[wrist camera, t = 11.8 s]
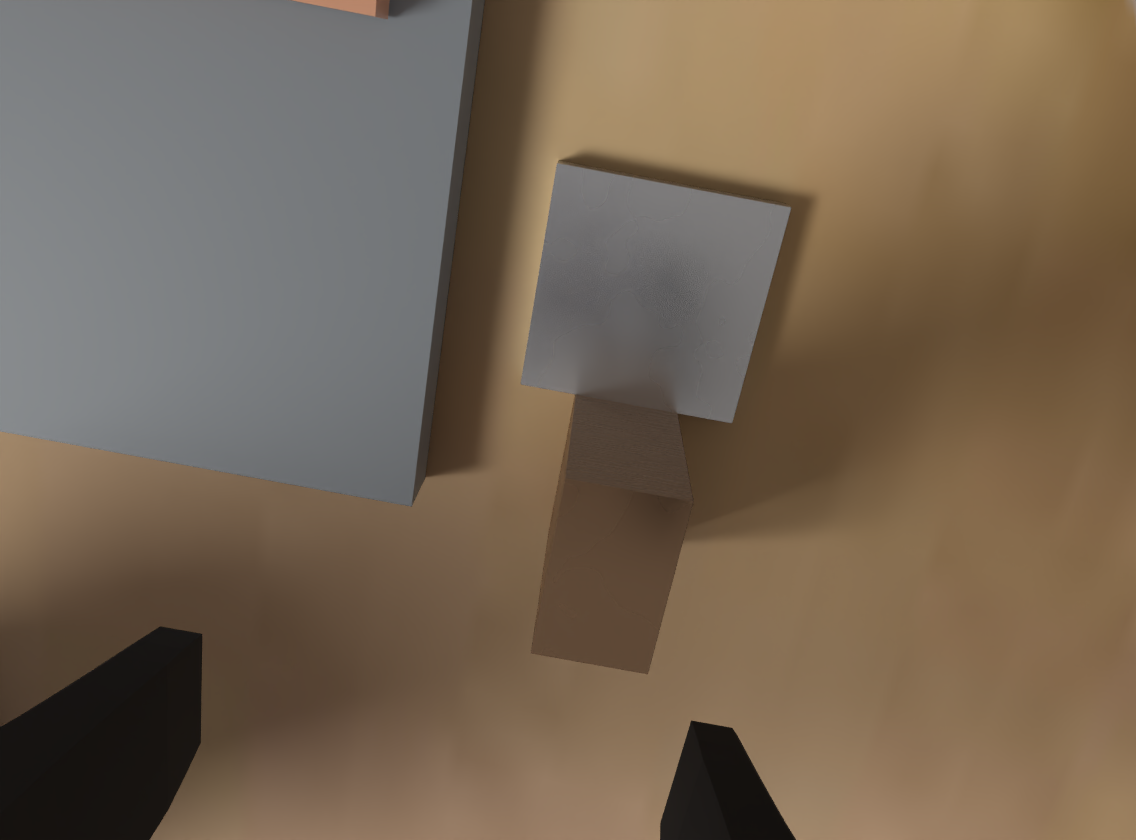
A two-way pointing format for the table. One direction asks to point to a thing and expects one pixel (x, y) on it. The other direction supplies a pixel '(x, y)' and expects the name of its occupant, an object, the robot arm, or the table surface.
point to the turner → (636, 386)
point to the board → (232, 231)
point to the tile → (354, 6)
